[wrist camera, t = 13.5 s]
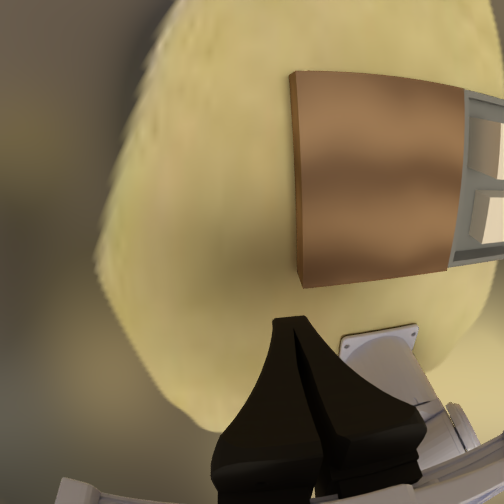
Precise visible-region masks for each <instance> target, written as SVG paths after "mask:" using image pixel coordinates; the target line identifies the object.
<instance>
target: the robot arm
mask: <svg viewBox="0 0 504 504" xmlns="http://www.w3.org/2000/svg"><path fill="white" fill-rule="evenodd" d="M272 325H273V331H272V338H271V343H270V347H269V351H268V354H267V358H266V360H265V363H264V366H263V369H262V371H261V374H260V376H259V378H258V381H257V383H256V385H255V387H254V389H253V390H252V392H251V394H250V396H249V398H248V399H247V401H246V403H245V404H244V406H243V407H242V409H241V410H240V412H239V413H238V414H237V416H236V417H235V419H234V420H233V421H232V423H231V424H230V425H229V426H228V427H227V428H226V430H225V431H224V432H223V433H222V434H221V435H220V437H219V440H218V442H217V445H216V447H215V450H214V453H213V457H212V461H211V480H212V482H213V484H214V486H215V488H216V489H217V491H218V504H482V503H484V502H485V501H487V500H489V499H491V498H492V497H494V496H496V495H497V494H498V493H500V492H502V491H503V490H504V431H503V433H502V434H501V435H499V436H497V437H495V438H493V439H492V440H490V441H488V442H486V443H484V444H482V445H481V444H480V442H479V440H478V438H477V436H476V434H475V432H474V430H473V428H472V426H471V424H470V422H469V420H468V418H467V417H466V415H465V413H464V411H463V409H462V408H461V406H460V405H459V404H455V403H454V404H453V403H452V402H449V403H448V404H447V405H446V408H447V410H448V412H449V414H450V417H449V415H448V414H447V412H446V410H445V408H444V407H443V405H442V403H441V401H440V400H439V398H438V397H437V395H436V393H435V392H434V390H433V388H432V386H431V384H430V382H429V381H428V379H427V377H426V375H425V373H424V372H423V370H422V368H421V366H420V364H419V363H418V361H417V359H416V358H415V356H414V354H413V352H412V350H413V347H414V343H415V340H416V337H417V334H418V330H419V327H418V325H416V324H413V325H408V326H403V327H398V328H393V329H387V330H381V331H376V332H370V333H364V334H357V335H351V336H346V337H344V338H343V339H342V340H341V346H340V353H339V357H338V356H337V355H336V354H335V352H334V351H333V350H332V349H331V348H330V347H329V346H328V345H327V344H326V342H325V341H324V340H323V339H322V338H321V336H320V335H319V334H318V333H317V331H316V330H315V329H314V327H313V326H312V325H311V323H310V322H309V320H308V319H307V317H306V316H304V315H302V316H293V317H283V318H275V319H274V320H273V321H272ZM345 345H347V346H345ZM450 418H451V419H450ZM451 420H452V421H451ZM452 422H453V423H452ZM453 424H454V425H453ZM454 426H455V427H454ZM465 449H466V450H467V452H466V450H465ZM314 487H315V498H311V496H312V492H313V488H314ZM55 504H178V503H165V502H156V501H148V500H141V499H134V498H128V497H122V496H117V495H111V494H106V493H102V492H100V491H99V490H98V489H97V488H96V487H94V486H92V485H90V484H88V483H85V482H81V481H77V480H74V479H70V478H66V477H63V478H62V480H61V484H60V487H59V491H58V494H57V498H56V501H55Z"/></svg>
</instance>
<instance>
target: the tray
mask: <svg viewBox="0 0 504 504" xmlns="http://www.w3.org/2000/svg"><path fill="white" fill-rule="evenodd" d="M464 101H465V130H464V155H463V169H462V180H461V190H460V198H459V206H458V213H457V220H456V226H455V232H454V238H453V243H452V248H451V254H450V258H449V263H448V268H449V267H456V266H463V265H469V264H476V263H482V262H488V261H494V260H500V259H504V242H495V243H486V244H481V243H480V242H478V241H477V240H476V239H474V238H473V237H472V236H470V235H469V230H470V224H471V219H472V212H473V206H474V198H475V191H476V190H498V191H504V180H500V179H495V178H493V177H491V176H488V175H486V174H484V173H481V172H479V171H476V170H474V169H471V168H469V167H467V160H468V142H469V117H472V118H478V119H484V120H489V121H494V122H499V123H503V124H504V100H503V99H499V98H496V97H492V96H489V95H485V94H481V93H477V92H473V91H469V90H465V89H464Z"/></svg>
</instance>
